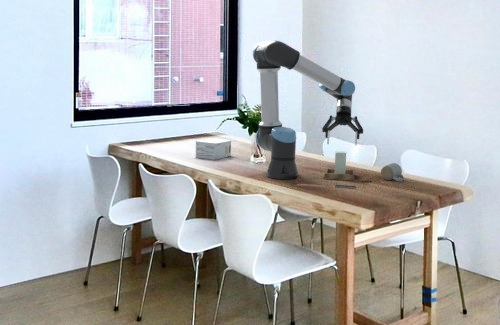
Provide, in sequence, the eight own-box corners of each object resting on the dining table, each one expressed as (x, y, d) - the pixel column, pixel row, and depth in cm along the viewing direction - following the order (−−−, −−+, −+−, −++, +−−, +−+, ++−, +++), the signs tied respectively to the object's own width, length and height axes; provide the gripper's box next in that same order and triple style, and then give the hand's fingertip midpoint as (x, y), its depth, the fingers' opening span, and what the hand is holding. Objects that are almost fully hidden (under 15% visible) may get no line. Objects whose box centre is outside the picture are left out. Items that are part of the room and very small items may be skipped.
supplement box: (214, 160, 373) (215, 143, 371) (195, 157, 379) (195, 141, 378) (231, 156, 387) (231, 139, 385) (212, 153, 394) (212, 137, 392)
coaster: (334, 187, 306) (335, 186, 306) (335, 183, 314) (335, 182, 314) (355, 188, 304) (355, 187, 304) (355, 184, 313) (355, 183, 313)
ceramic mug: (379, 179, 327) (380, 163, 326) (387, 177, 333) (388, 161, 332) (398, 183, 320) (399, 167, 319) (407, 180, 326) (408, 165, 325)
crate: (324, 180, 320) (324, 173, 320) (325, 175, 334) (326, 168, 333) (354, 182, 318) (354, 175, 318) (354, 177, 332) (354, 169, 331)
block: (334, 177, 324) (335, 152, 322) (334, 175, 329) (335, 151, 327) (345, 178, 323) (346, 153, 321) (345, 176, 328) (346, 151, 326)
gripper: (368, 115, 347) (367, 148, 335) (319, 113, 351) (316, 146, 339) (369, 105, 341) (367, 139, 329) (319, 104, 345) (316, 137, 333)
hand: (341, 143), depth 334 cm, fingers open, 13 cm apart
